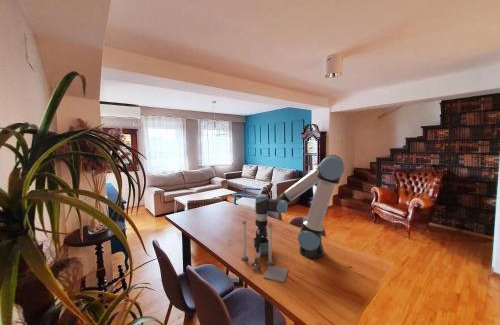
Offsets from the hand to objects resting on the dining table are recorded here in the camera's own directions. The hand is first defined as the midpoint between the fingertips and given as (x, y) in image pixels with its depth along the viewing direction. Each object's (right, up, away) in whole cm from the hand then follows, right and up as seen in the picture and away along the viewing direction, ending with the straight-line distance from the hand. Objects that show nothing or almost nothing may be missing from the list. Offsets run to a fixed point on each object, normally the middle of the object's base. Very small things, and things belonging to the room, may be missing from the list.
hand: (261, 251), depth 136 cm
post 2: (+5, -3, -11) cm, 12 cm away
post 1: (-10, -2, -6) cm, 12 cm away
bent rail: (-3, -3, -14) cm, 14 cm away
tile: (+7, -4, -21) cm, 22 cm away
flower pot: (0, -2, 0) cm, 2 cm away
